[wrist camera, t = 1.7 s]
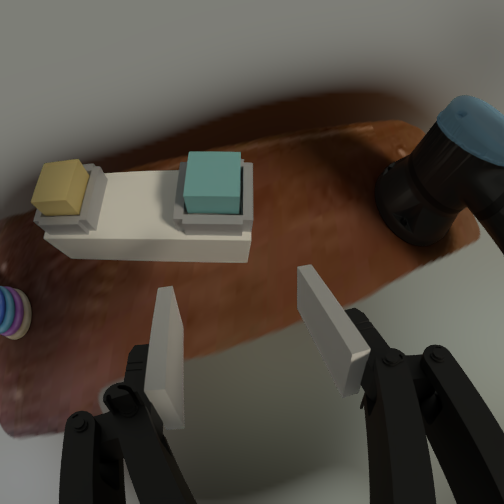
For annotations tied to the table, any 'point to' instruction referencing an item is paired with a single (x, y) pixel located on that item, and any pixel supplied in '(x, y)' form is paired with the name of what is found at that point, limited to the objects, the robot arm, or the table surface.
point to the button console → (150, 220)
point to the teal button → (213, 182)
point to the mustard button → (61, 188)
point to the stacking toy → (14, 313)
